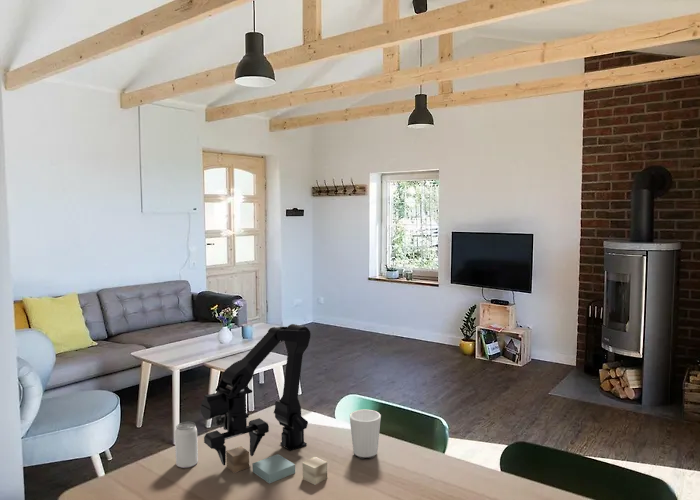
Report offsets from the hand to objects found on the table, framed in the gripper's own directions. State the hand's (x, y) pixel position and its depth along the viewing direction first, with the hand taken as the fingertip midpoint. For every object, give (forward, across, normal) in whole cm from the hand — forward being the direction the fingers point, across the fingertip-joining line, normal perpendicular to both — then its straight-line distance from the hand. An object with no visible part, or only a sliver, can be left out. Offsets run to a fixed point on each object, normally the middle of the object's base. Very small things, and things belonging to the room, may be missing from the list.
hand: (237, 460), depth 162 cm
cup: (+2, -35, +18) cm, 39 cm away
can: (+2, +11, -12) cm, 16 cm away
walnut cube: (+2, 0, 0) cm, 2 cm away
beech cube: (+2, -14, +20) cm, 25 cm away
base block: (+3, -7, +10) cm, 12 cm away
